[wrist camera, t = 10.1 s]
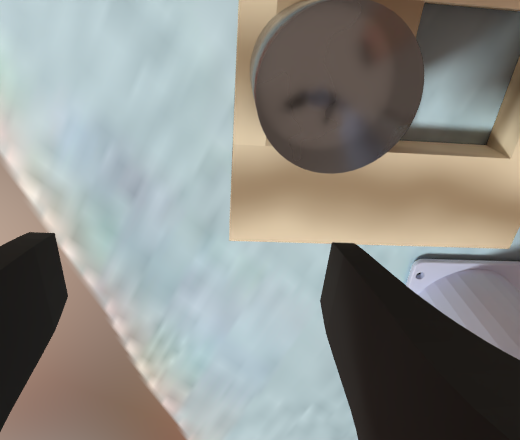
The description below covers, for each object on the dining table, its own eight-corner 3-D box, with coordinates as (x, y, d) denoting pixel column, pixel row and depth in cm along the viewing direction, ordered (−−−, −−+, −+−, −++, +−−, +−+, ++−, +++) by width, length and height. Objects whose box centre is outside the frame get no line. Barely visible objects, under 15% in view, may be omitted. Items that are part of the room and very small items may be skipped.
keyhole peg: (344, 124, 19) (395, 179, 13) (242, 114, 18) (247, 166, 12) (370, 8, 16) (448, 10, 10) (253, -8, 16) (266, -16, 10)
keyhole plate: (487, 229, 22) (509, 248, 21) (229, 220, 21) (229, 240, 19) (640, -132, 15) (695, -151, 13) (246, -183, 13) (248, -212, 11)
